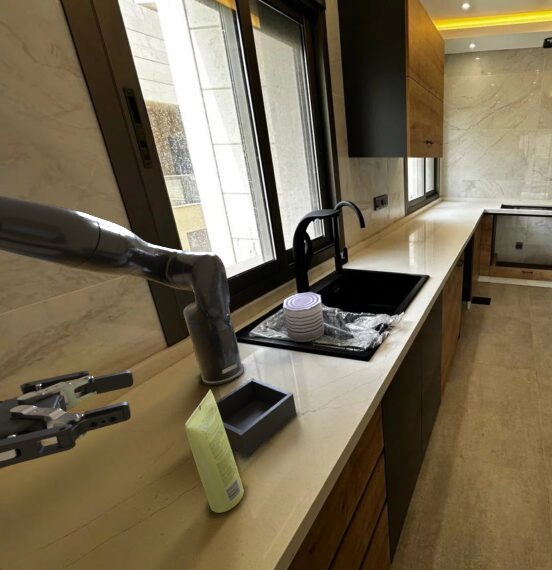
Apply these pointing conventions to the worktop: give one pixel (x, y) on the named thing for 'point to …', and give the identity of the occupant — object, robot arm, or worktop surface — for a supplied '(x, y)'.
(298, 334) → the can
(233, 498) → the tube
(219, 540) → the worktop surface
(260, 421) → the tub
